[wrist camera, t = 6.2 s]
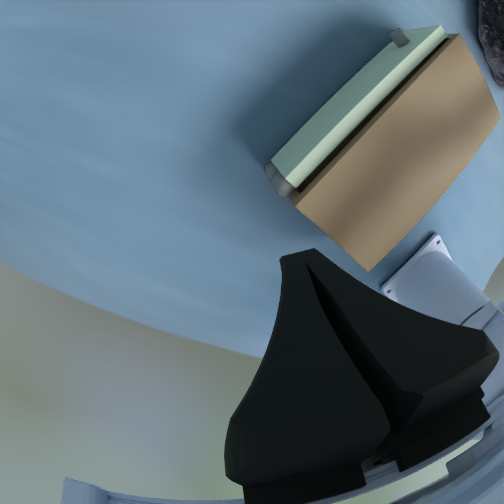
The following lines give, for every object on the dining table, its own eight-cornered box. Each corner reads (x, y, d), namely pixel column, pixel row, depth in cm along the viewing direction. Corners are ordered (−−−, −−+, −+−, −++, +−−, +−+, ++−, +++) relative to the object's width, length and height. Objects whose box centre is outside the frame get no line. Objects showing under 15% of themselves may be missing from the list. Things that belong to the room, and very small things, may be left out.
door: (410, 40, 13) (448, 36, 9) (271, 177, 18) (285, 200, 14) (394, 20, 12) (431, 12, 8) (250, 160, 17) (258, 178, 13)
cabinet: (456, 105, 16) (501, 117, 11) (339, 234, 21) (367, 272, 17) (413, 38, 13) (459, 33, 8) (275, 177, 18) (295, 206, 14)
